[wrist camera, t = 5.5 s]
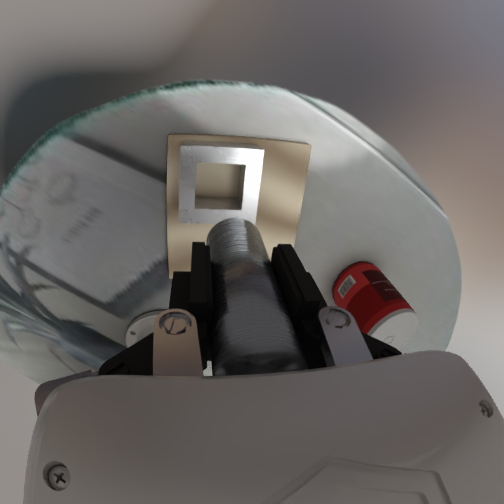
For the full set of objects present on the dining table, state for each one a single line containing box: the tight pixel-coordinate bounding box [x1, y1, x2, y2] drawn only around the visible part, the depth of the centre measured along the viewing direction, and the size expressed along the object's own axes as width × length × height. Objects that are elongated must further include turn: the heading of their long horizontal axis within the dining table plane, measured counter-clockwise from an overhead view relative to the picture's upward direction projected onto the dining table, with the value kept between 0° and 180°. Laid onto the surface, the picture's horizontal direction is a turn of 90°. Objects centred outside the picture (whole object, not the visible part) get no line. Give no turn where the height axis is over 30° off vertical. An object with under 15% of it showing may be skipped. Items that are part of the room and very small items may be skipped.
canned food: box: [333, 262, 419, 350], centre depth 34 cm, size 8×8×11 cm
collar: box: [179, 140, 264, 225], centre depth 26 cm, size 7×7×4 cm
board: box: [167, 134, 312, 279], centre depth 30 cm, size 16×14×1 cm
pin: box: [206, 218, 308, 376], centre depth 11 cm, size 3×3×8 cm
